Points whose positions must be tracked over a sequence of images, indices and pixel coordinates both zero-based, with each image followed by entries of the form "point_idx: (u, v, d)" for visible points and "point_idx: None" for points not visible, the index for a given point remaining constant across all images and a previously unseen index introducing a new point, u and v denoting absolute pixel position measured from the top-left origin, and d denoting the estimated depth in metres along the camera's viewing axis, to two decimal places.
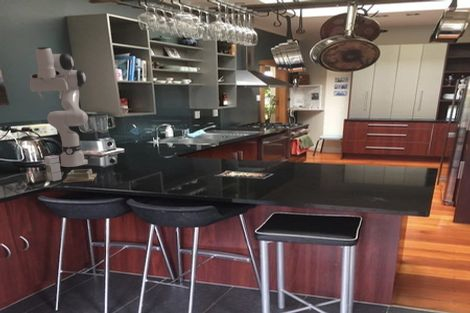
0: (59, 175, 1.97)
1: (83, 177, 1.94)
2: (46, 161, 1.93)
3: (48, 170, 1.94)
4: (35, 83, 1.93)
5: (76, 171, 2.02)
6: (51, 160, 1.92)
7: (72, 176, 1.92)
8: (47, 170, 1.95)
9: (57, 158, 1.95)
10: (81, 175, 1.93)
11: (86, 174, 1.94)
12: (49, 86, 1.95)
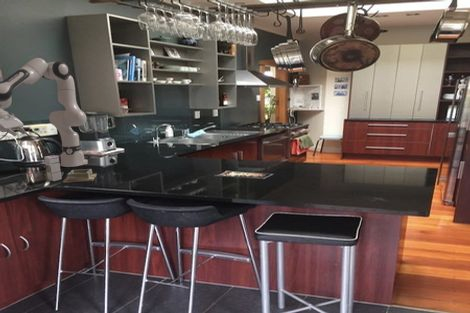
0: (59, 175, 1.97)
1: (83, 177, 1.94)
2: (46, 161, 1.93)
3: (48, 170, 1.94)
4: None
5: (76, 171, 2.02)
6: (51, 160, 1.92)
7: (72, 176, 1.92)
8: (47, 170, 1.95)
9: (57, 158, 1.95)
10: (81, 175, 1.93)
11: (86, 174, 1.94)
12: None
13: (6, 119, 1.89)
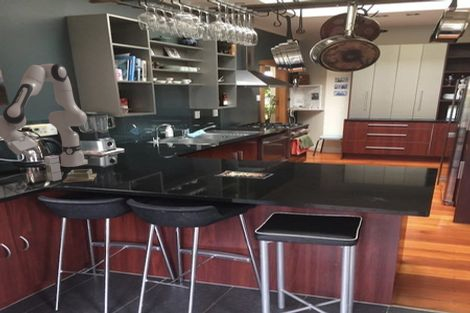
0: (59, 175, 1.97)
1: (83, 177, 1.94)
2: (46, 161, 1.93)
3: (48, 170, 1.94)
4: None
5: (76, 171, 2.02)
6: (51, 160, 1.92)
7: (72, 176, 1.92)
8: (47, 170, 1.95)
9: (57, 158, 1.95)
10: (81, 175, 1.93)
11: (86, 174, 1.94)
12: None
13: (21, 141, 1.91)
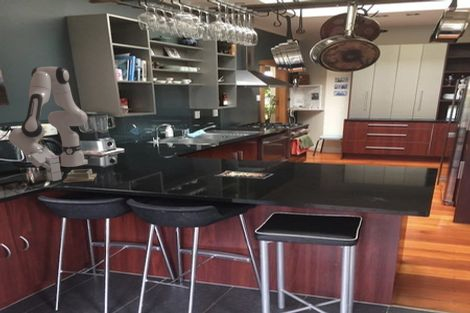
0: (59, 175, 1.97)
1: (83, 177, 1.94)
2: (46, 161, 1.93)
3: (48, 170, 1.94)
4: None
5: (76, 171, 2.02)
6: (51, 160, 1.92)
7: (72, 176, 1.92)
8: (47, 170, 1.95)
9: (57, 158, 1.95)
10: (81, 175, 1.93)
11: (86, 174, 1.94)
12: None
13: (40, 153, 1.93)
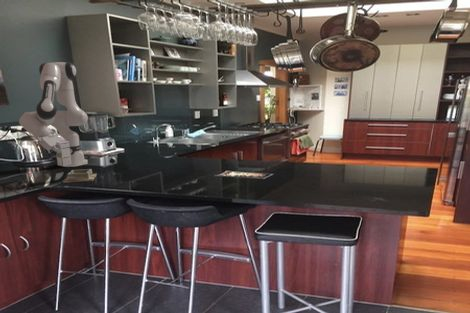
0: (69, 160, 1.96)
1: (83, 177, 1.94)
2: (56, 146, 1.92)
3: (58, 155, 1.93)
4: None
5: (76, 171, 2.02)
6: (62, 145, 1.91)
7: (72, 176, 1.92)
8: (57, 155, 1.93)
9: (67, 143, 1.94)
10: (81, 175, 1.93)
11: (86, 174, 1.94)
12: None
13: (50, 136, 1.92)
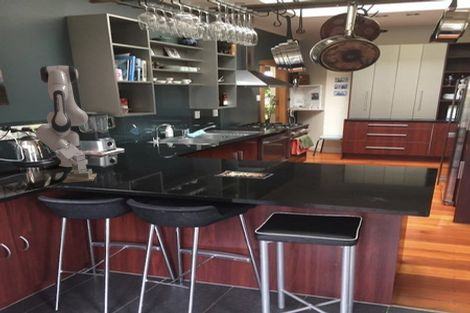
0: (85, 172, 1.98)
1: (83, 177, 1.94)
2: (72, 158, 1.94)
3: (74, 167, 1.95)
4: None
5: None
6: (78, 157, 1.93)
7: (72, 176, 1.92)
8: (73, 167, 1.96)
9: (83, 155, 1.96)
10: (81, 175, 1.93)
11: (86, 174, 1.94)
12: None
13: (67, 149, 1.94)
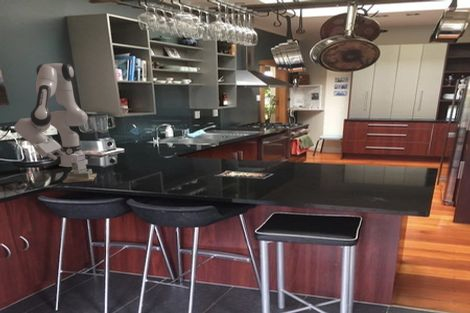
0: (85, 172, 1.98)
1: (83, 177, 1.94)
2: (72, 158, 1.94)
3: (74, 167, 1.95)
4: None
5: None
6: (78, 157, 1.93)
7: (72, 176, 1.92)
8: (73, 167, 1.96)
9: (83, 155, 1.96)
10: (81, 175, 1.93)
11: (86, 174, 1.94)
12: None
13: (46, 143, 1.92)
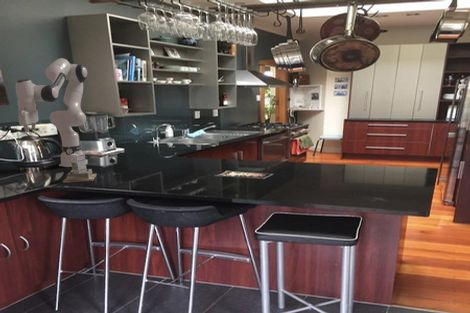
0: (85, 172, 1.98)
1: (83, 177, 1.94)
2: (72, 158, 1.94)
3: (74, 167, 1.95)
4: None
5: None
6: (78, 157, 1.93)
7: (72, 176, 1.92)
8: (73, 167, 1.96)
9: (83, 155, 1.96)
10: (81, 175, 1.93)
11: (86, 174, 1.94)
12: None
13: (31, 113, 1.92)
